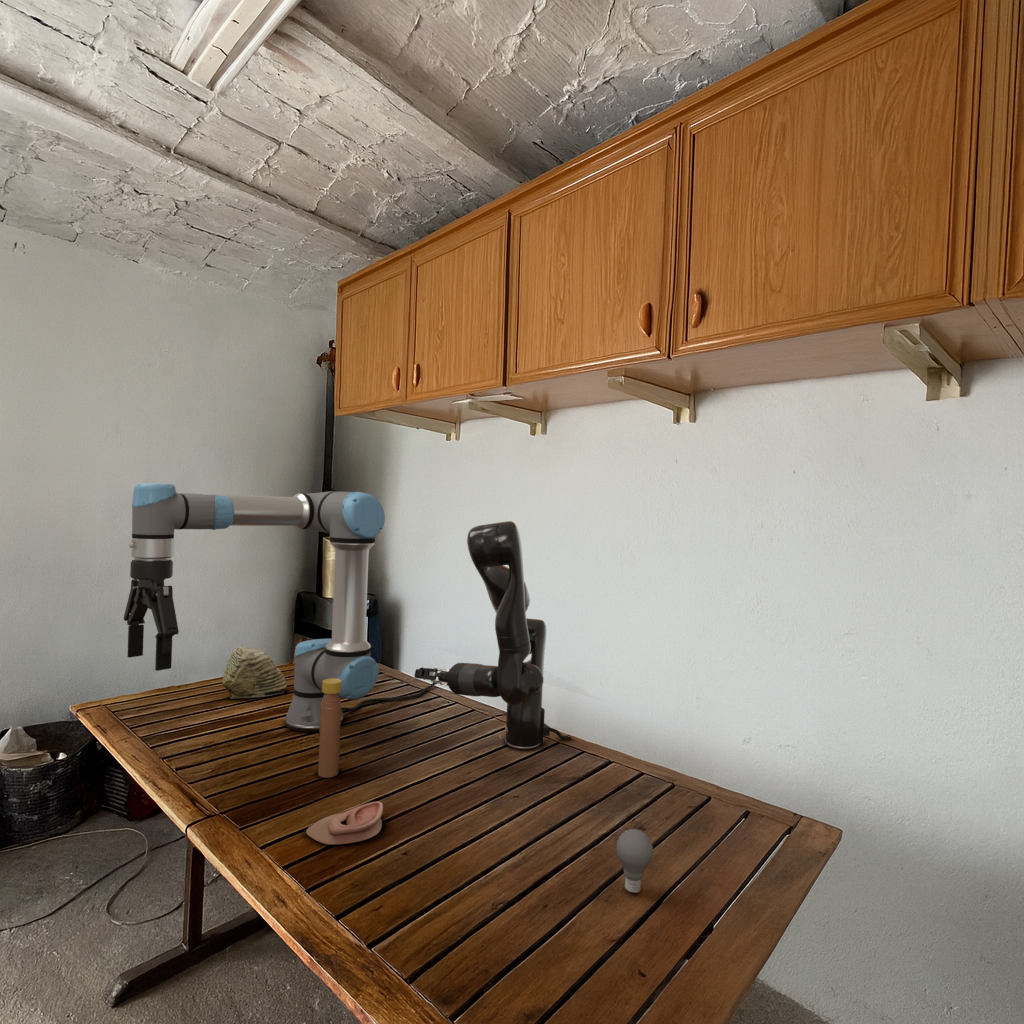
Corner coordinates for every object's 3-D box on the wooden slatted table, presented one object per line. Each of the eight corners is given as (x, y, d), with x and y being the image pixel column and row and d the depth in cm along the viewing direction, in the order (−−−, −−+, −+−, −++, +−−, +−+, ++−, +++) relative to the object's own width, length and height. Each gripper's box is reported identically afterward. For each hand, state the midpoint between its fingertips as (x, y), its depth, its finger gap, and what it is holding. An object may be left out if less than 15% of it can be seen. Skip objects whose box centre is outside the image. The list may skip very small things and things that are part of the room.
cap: (345, 690, 145) (345, 680, 145) (330, 695, 142) (330, 684, 142) (332, 687, 148) (332, 677, 148) (317, 691, 144) (318, 681, 144)
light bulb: (610, 879, 108) (613, 822, 108) (644, 879, 109) (647, 822, 109) (619, 902, 102) (622, 840, 102) (655, 901, 103) (658, 840, 103)
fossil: (218, 695, 195) (220, 647, 195) (278, 685, 208) (279, 640, 207) (228, 703, 189) (230, 653, 188) (289, 692, 201) (290, 645, 201)
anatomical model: (298, 818, 116) (328, 791, 128) (297, 839, 116) (327, 810, 128) (365, 829, 114) (390, 800, 125) (364, 851, 114) (389, 820, 125)
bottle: (342, 772, 146) (346, 682, 145) (327, 779, 142) (330, 686, 142) (329, 767, 148) (332, 678, 148) (313, 774, 144) (317, 682, 144)
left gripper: (108, 554, 134) (104, 654, 134) (159, 565, 118) (155, 678, 119) (146, 552, 140) (143, 648, 140) (199, 563, 124) (195, 671, 124)
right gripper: (494, 668, 156) (452, 665, 168) (451, 658, 147) (409, 656, 158) (490, 699, 154) (447, 695, 165) (445, 691, 145) (404, 687, 156)
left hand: (148, 662), depth 129 cm, fingers open, 13 cm apart
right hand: (429, 676), depth 162 cm, fingers open, 8 cm apart
